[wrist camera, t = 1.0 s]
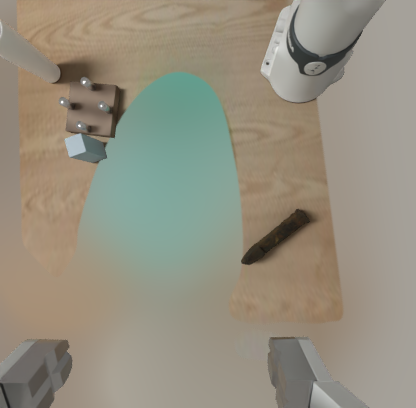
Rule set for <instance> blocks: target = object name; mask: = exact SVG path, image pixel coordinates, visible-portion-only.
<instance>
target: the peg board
mask: <svg viewBox="0 0 416 408" xmlns="http://www.w3.org/2000/svg"><path fill="white" fill-rule="evenodd" d="M119 96H120V89H119V88H118V87H117V86H116V85H108V84H96V83H92V82H91V81H90V80H89V79H87V78H86V77H82V78H81V80H80V82H72V81H71V83H70V93H69V100H67V99H66V98H64V97H61V98H60V99H59V104H60V105H62V106H64V107H66V108H68V112H67V122H66V131H68V132H71V133H77V134H79V133H82V134H85V135H94V136H102V137H111V138H114V137H115V130H116V122H117V113H118V104H119Z"/></svg>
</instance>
